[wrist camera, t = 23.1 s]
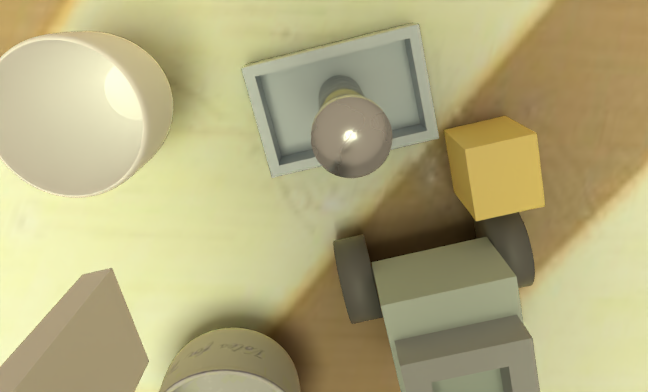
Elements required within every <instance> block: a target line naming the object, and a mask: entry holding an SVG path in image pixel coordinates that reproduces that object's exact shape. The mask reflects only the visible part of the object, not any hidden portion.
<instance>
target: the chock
mask: <svg viewBox="0 0 648 392" xmlns="http://www.w3.org/2000/svg"><path fill="white" fill-rule="evenodd" d="M444 135H445V141H446V147H447V153H448V159H449V165H450V171H451V177H452V182H453V188H454V193H455V194H456V195H457V197H458V198H459V199H460V201H461V202H462V203H463V205H464V206H465V207H466V209H467V210H468V211H469V213H470V214H471V215H472V217H473V218H474V219H475V221H480V220H485V219H489V218H494V217H498V216H503V215H507V214H512V213H516V212H521V211H526V210H530V209H535V208H539V207H544V206H545V201H544V192H543V183H542V175H541V166H540V157H539V149H538V140H537V133H535V132H533V131H532V130H530V129H528V128H526V127H525V126H523V125H521V124H519V123H517V122H516V121H514V120H512V119H510V118H508V117H507V116H502V117H497V118H493V119H489V120H484V121H480V122H476V123H471V124H467V125H463V126H458V127H454V128H450V129H445V130H444Z"/></svg>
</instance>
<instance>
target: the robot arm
mask: <svg viewBox="0 0 648 392" xmlns="http://www.w3.org/2000/svg"><path fill="white" fill-rule="evenodd" d="M148 362H149V360H148V357H147V355H146V352H145V350H144V347H143V345H142V342H141V340H140V337H139V335H138V332H137V330H136V327H135V325H134V322H133V320H132V317H131V315H130V312H129V309H128V307H127V304H126V302H125V299H124V297H123V294H122V292H121V289H120V287H119V284H118V282H117V279H116V277H115V274H114V272H113V269H112V268H109V269H105V270H101V271H96V272H92V273H87V274H83V275H82V276H81V277H80V278H79V279H78V280H77V281H76V283H75V284H74V285H73V286H72V287H71V288H70V289H69V290H68V292H67V293H66V294H65V295H64V296H63V297H62V298H61V299H60V300H59V302H58V303H57V304H56V305H55V306H54V307H53V308H52V309H51V311H50V312H49V313H48V314H47V315H46V316H45V317H44V318H43V320H42V321H41V322H40V323H39V324H38V325H37V326H36V327H35V329H34V330H33V331H32V332H31V333H30V334H29V335H28V336H27V338H26V339H25V340H24V341H23V342H22V343H21V344H20V345H19V346H18V348H17V349H16V350H15V351H14V352H13V353H12V354H11V355H10V357H9V358H8V359H7V360H6V361H5V362H4V363H3V364H2V366H1V367H0V392H134V391H135V389H136V387H137V385H138V383H139V381H140V379H141V377H142V375H143V373H144V371H145V368H146V366H147V364H148Z"/></svg>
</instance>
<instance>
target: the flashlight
mask: <svg viewBox="0 0 648 392" xmlns="http://www.w3.org/2000/svg"><path fill="white" fill-rule="evenodd" d="M318 100H319V111H318V113H317V114H316V116H315V118H314V120H313V123H312V128H311V146H312V150H313V153H314V155H315V157H316V159H317V160H318V162H319V163H320V164H321V165H322V166H323V167H324V168H325V169H326V170H327V171H329V172H330V173H332V174H334V175H337V176H340V177H345V178H357V177H362V176H365V175H367V174H370V173H372V172H373V171H375V170H376V169H377V168H379V167H380V166H381V165H382V164H383V162H384V161H385V160H386V158H387V156H388V155H389V152H390V150H391V146H392V140H393V134H392V128H391V124H390V122H389V119H388V118H387V116H386V114H385V113H384V111H383V110H382V109H381V108H380V107H379V106H378V105H377V104H376V103H375V102H374V101H372V100H370V99H369V98H366V97H365V95H364V94H363V92H362V90H361V88H360V87H359V85H358V84H357V82H356V81H355V80H353V79H352V78H350V77H347V76H342V75H338V76H334V77H331V78H329V79H328V80H327V81H325V82H324V84H323V85H322V86H321V88H320V91H319V96H318Z"/></svg>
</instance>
